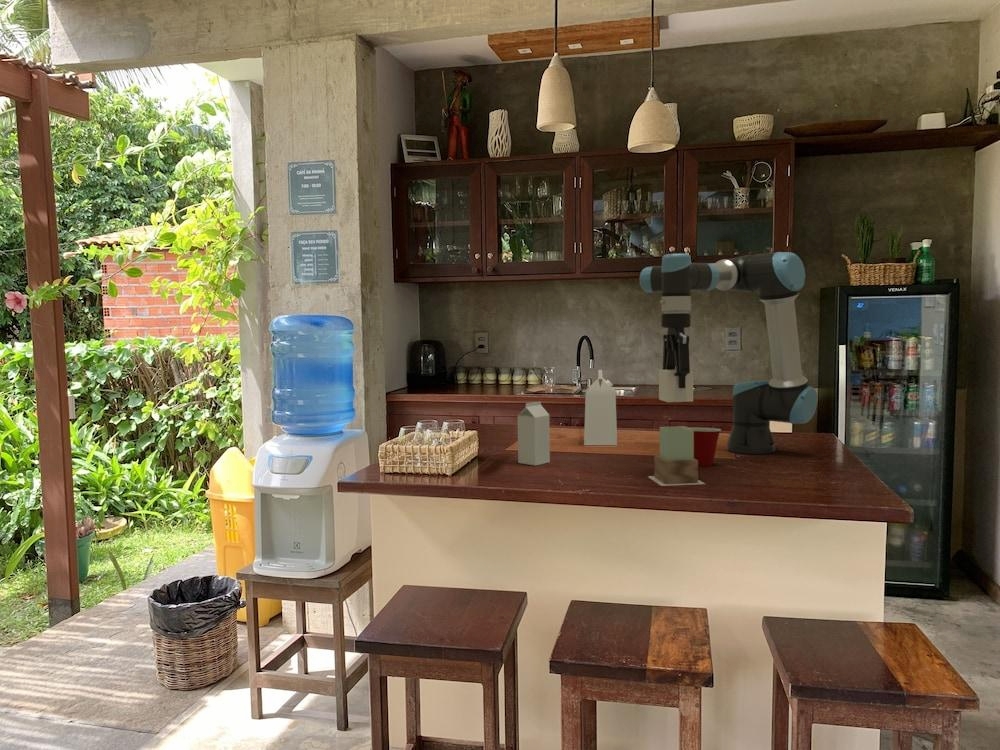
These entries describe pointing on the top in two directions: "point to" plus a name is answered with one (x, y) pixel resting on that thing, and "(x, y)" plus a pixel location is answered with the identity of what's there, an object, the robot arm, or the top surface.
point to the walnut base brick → (675, 471)
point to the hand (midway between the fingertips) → (675, 398)
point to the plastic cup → (705, 445)
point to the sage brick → (676, 443)
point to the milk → (600, 413)
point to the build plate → (672, 484)
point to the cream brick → (673, 386)
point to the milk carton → (533, 435)
